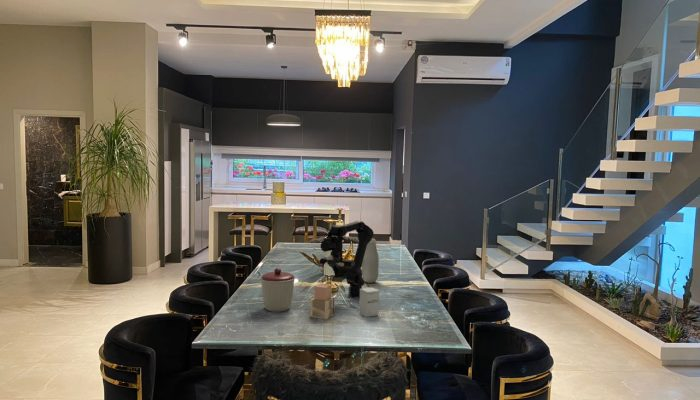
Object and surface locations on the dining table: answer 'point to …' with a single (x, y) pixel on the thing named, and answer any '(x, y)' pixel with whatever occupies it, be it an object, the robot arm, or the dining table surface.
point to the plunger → (323, 292)
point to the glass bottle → (370, 263)
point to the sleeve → (321, 308)
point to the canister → (277, 290)
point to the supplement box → (369, 302)
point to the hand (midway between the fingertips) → (336, 277)
